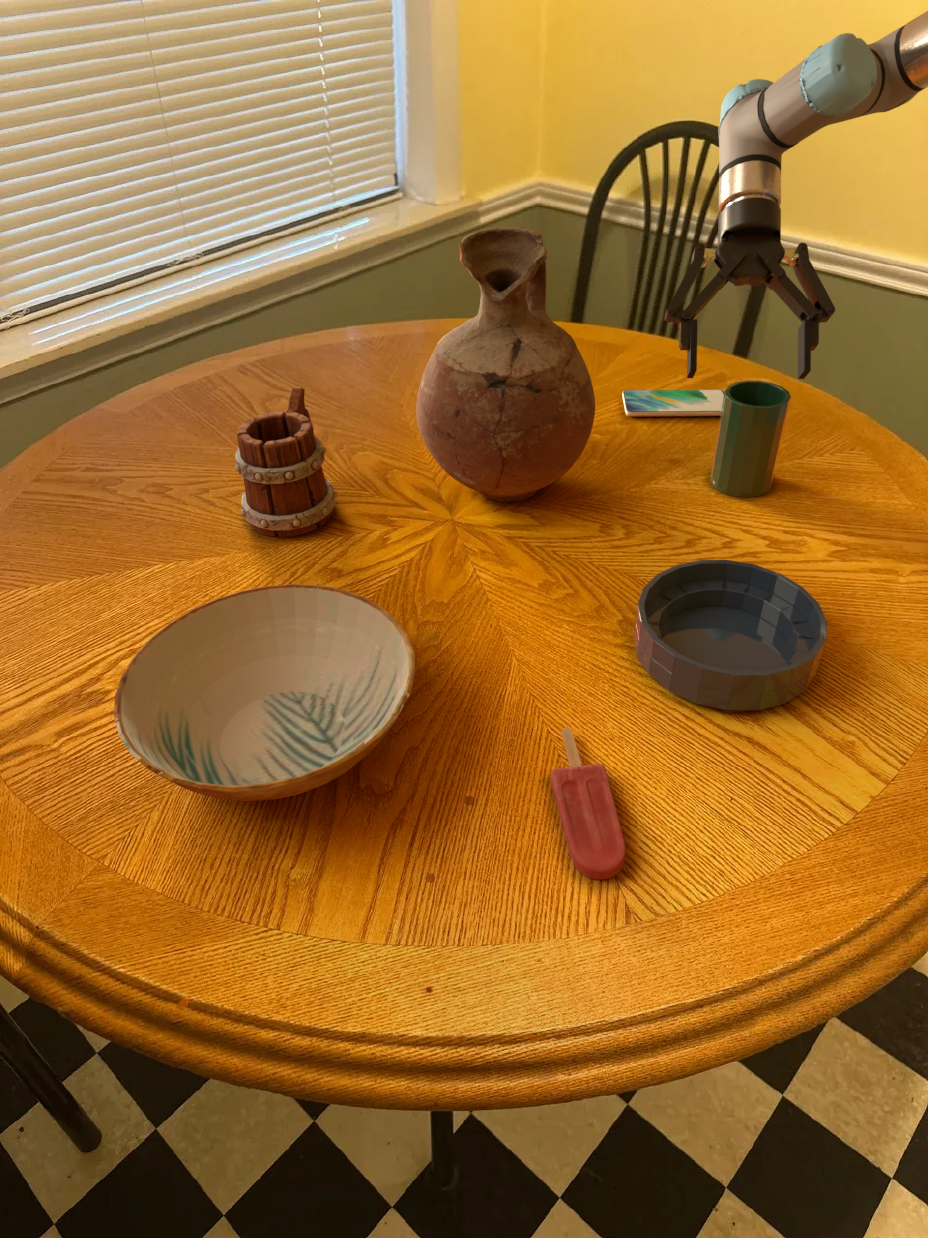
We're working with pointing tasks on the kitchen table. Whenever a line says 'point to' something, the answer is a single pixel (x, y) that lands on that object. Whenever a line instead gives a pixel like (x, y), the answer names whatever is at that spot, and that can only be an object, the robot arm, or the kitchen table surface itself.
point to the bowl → (265, 691)
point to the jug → (506, 378)
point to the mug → (283, 472)
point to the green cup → (749, 437)
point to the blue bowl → (729, 634)
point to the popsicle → (588, 815)
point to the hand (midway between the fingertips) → (747, 374)
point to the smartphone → (673, 402)
